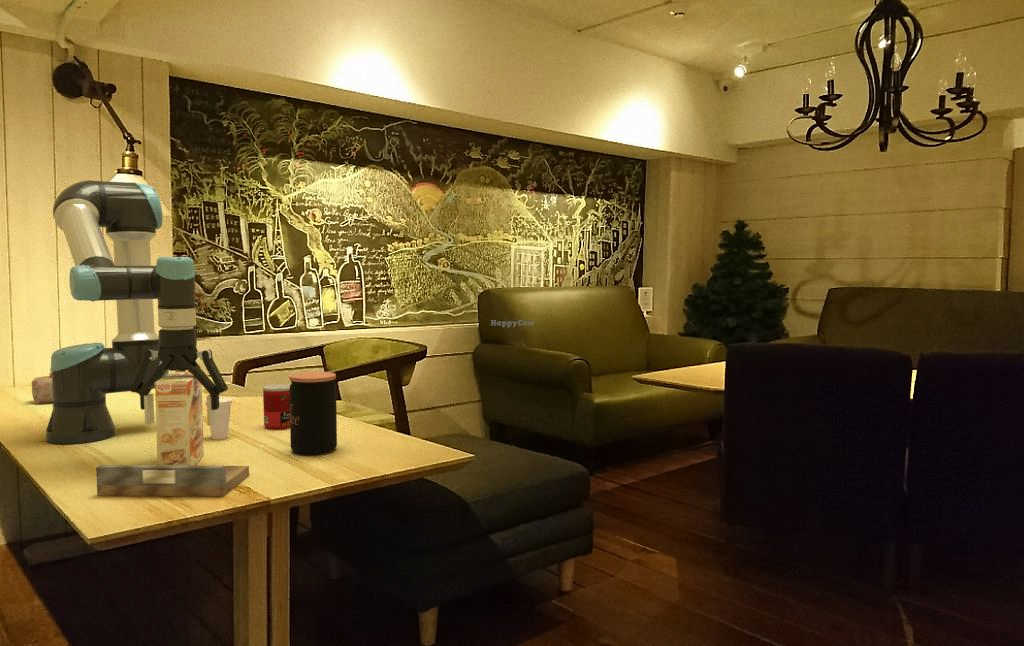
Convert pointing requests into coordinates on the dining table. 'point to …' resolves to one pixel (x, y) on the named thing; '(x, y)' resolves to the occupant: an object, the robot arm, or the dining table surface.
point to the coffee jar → (313, 413)
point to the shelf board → (168, 480)
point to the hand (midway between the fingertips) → (180, 424)
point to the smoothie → (221, 419)
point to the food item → (42, 389)
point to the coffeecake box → (179, 419)
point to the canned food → (276, 406)
